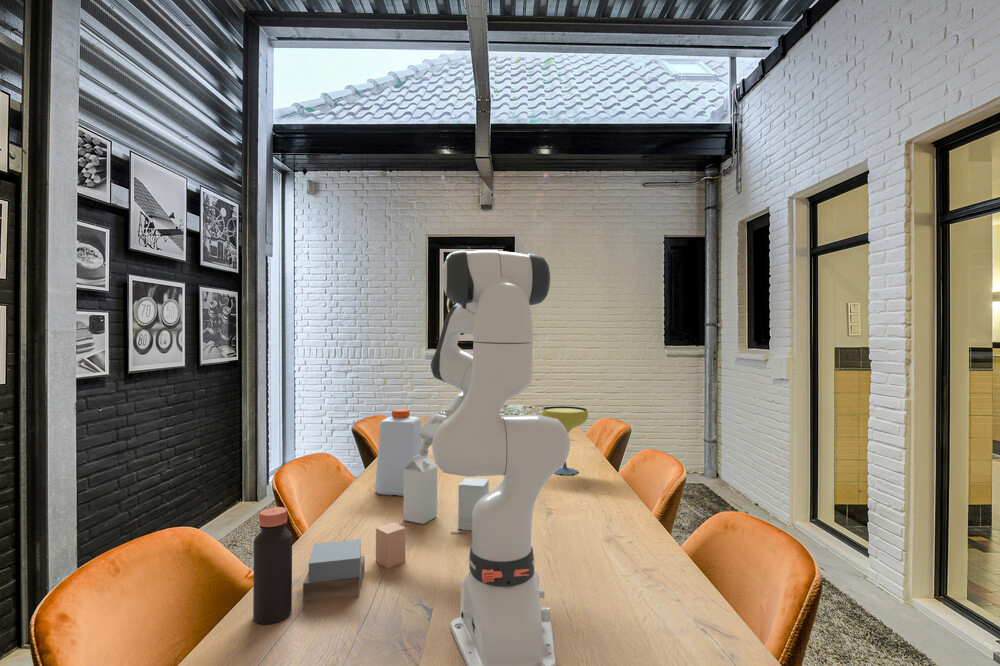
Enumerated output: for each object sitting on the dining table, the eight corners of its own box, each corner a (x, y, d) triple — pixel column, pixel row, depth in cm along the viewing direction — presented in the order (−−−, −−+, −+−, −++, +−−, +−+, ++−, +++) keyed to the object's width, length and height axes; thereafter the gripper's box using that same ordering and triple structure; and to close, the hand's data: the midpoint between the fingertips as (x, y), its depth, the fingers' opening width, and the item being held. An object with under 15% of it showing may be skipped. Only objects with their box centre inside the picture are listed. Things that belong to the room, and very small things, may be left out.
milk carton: (403, 520, 144) (403, 455, 145) (418, 512, 151) (418, 450, 151) (422, 524, 141) (423, 458, 141) (437, 516, 147) (437, 453, 147)
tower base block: (358, 598, 102) (359, 579, 102) (302, 603, 100) (303, 583, 100) (364, 573, 113) (364, 556, 113) (313, 577, 111) (314, 559, 111)
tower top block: (359, 577, 103) (359, 557, 103) (308, 583, 100) (308, 563, 100) (360, 556, 112) (360, 539, 112) (313, 561, 110) (314, 543, 110)
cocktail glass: (594, 470, 200) (594, 408, 200) (576, 480, 185) (576, 414, 185) (554, 463, 210) (554, 405, 210) (534, 473, 194) (534, 410, 195)
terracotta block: (405, 561, 118) (405, 527, 118) (387, 568, 115) (387, 533, 115) (393, 554, 122) (393, 522, 122) (375, 561, 118) (376, 527, 118)
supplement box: (483, 532, 136) (483, 486, 136) (457, 530, 137) (457, 484, 138) (489, 522, 143) (489, 478, 143) (464, 520, 145) (464, 477, 145)
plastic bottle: (413, 498, 165) (414, 414, 165) (371, 495, 167) (371, 412, 167) (427, 484, 180) (427, 407, 180) (388, 482, 182) (388, 406, 182)
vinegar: (281, 601, 100) (282, 502, 100) (298, 613, 95) (299, 510, 96) (246, 616, 95) (247, 511, 95) (263, 629, 90) (264, 520, 90)
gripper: (431, 404, 140) (402, 444, 133) (480, 412, 125) (450, 458, 118) (444, 417, 143) (416, 457, 136) (493, 428, 129) (464, 473, 122)
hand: (432, 458), depth 127 cm, fingers open, 8 cm apart
